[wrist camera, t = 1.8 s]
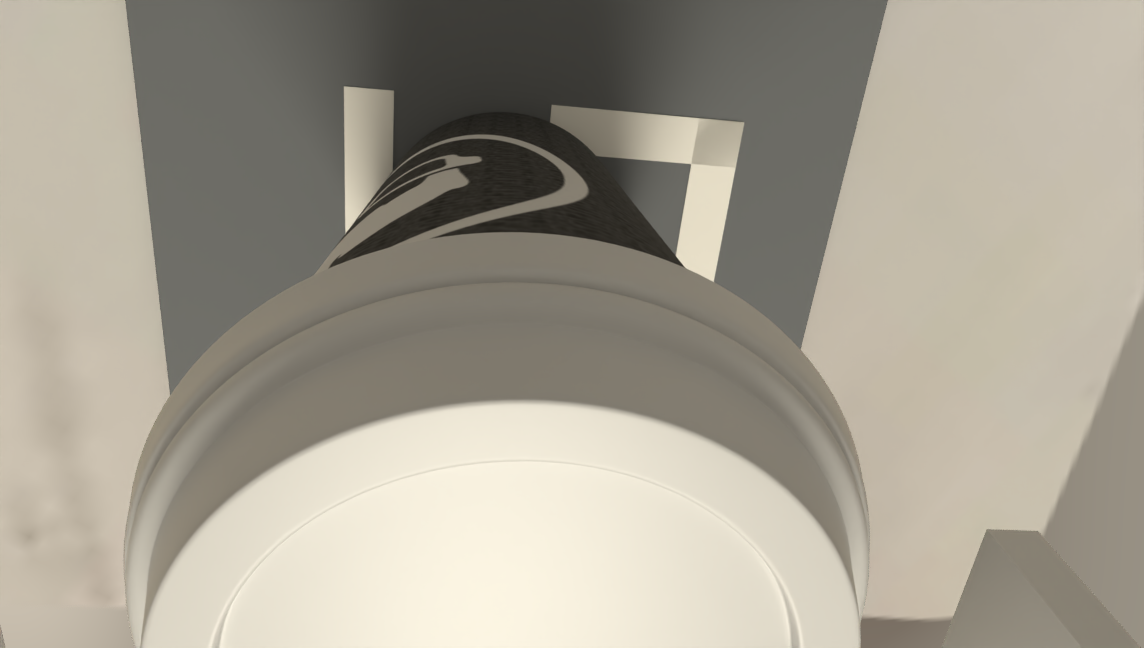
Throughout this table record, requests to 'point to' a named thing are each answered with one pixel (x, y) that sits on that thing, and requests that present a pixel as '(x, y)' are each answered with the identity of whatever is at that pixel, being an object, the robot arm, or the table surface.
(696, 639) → the coffee cup
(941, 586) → the table surface
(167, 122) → the mat
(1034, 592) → the robot arm
